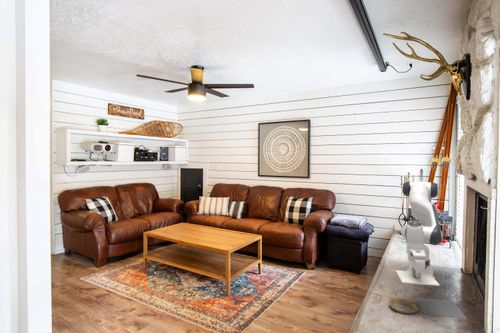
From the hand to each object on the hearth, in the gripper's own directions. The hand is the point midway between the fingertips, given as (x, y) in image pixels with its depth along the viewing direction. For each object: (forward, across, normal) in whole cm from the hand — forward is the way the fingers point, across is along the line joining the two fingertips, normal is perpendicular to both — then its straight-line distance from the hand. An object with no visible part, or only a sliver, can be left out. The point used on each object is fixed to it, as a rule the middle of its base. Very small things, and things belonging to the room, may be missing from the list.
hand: (415, 275), depth 165 cm
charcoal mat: (+20, -4, +13) cm, 24 cm away
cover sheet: (+2, 0, 0) cm, 2 cm away
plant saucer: (+20, +1, -7) cm, 22 cm away
